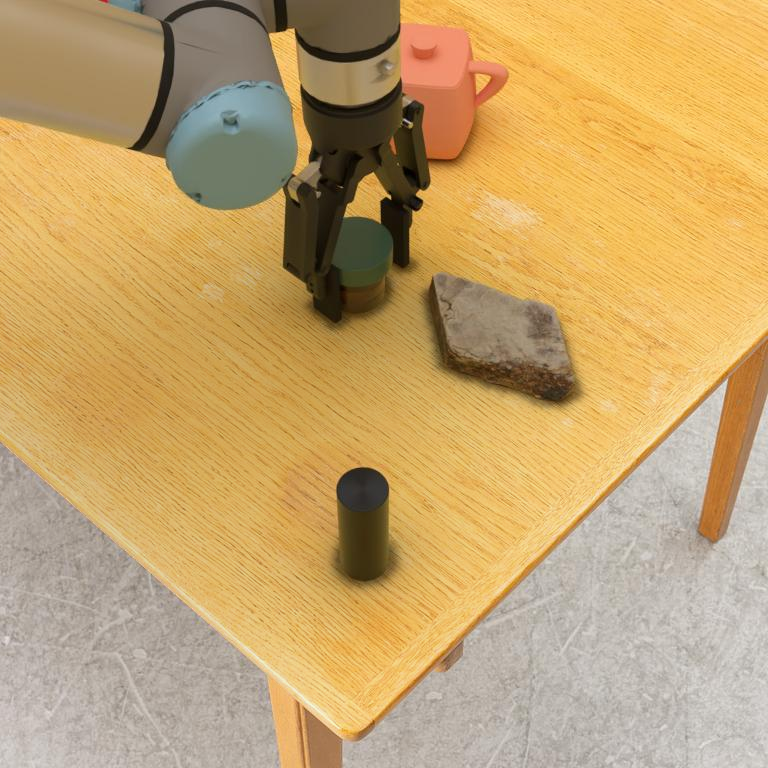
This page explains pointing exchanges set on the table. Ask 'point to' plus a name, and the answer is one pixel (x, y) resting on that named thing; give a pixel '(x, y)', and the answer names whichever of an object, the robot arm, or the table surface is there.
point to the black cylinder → (363, 523)
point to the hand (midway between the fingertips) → (362, 284)
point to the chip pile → (362, 297)
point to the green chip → (362, 252)
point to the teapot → (445, 84)
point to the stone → (500, 337)
